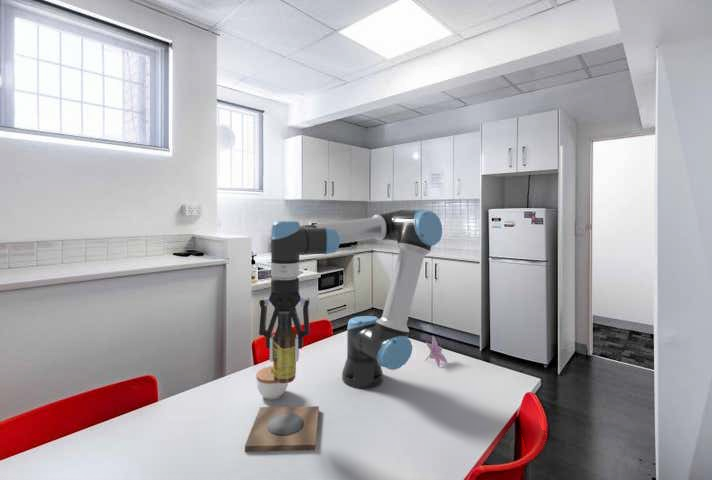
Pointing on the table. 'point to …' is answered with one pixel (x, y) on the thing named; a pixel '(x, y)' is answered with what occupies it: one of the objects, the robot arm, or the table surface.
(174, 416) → the table surface
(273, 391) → the lidded jar
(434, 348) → the lily
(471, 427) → the table surface
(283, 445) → the walnut board
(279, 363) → the sauce bottle
